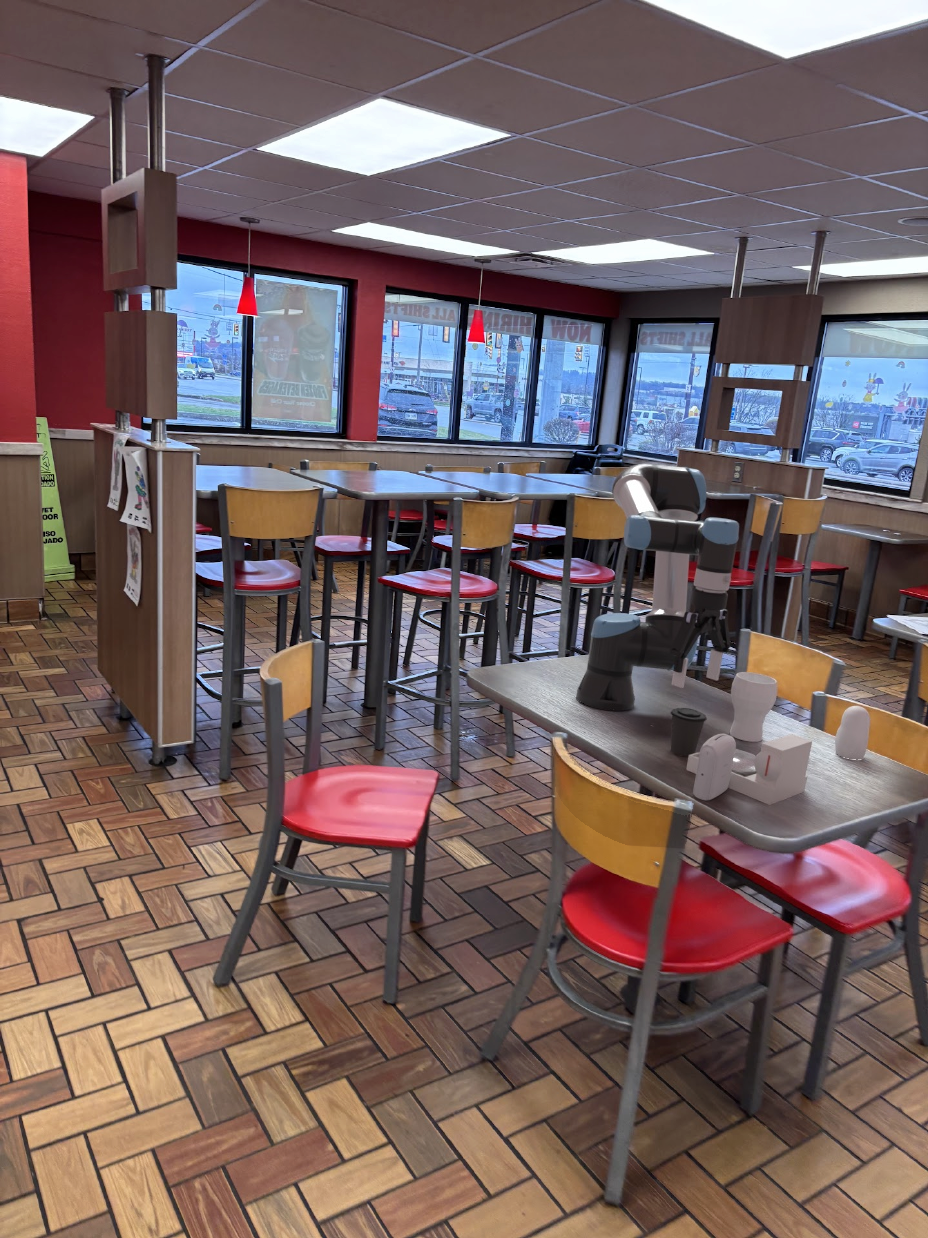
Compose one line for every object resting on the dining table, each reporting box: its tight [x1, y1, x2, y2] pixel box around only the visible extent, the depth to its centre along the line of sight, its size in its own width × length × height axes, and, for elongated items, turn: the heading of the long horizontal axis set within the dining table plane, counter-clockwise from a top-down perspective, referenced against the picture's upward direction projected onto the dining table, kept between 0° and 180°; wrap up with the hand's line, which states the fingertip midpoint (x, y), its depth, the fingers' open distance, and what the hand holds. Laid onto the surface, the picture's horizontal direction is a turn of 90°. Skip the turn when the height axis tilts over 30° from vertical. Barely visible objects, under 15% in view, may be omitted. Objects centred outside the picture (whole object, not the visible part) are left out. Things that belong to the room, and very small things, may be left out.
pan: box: [731, 748, 757, 774], centre depth 195 cm, size 12×12×3 cm
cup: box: [729, 671, 778, 743], centre depth 220 cm, size 11×11×15 cm
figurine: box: [834, 705, 871, 760], centre depth 215 cm, size 7×8×12 cm
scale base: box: [685, 733, 813, 806], centre depth 192 cm, size 21×14×11 cm
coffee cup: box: [670, 707, 708, 758], centre depth 205 cm, size 8×8×10 cm
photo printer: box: [692, 733, 737, 801], centre depth 183 cm, size 10×4×12 cm, turn 140°
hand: (695, 682), depth 203 cm, fingers open, 13 cm apart
